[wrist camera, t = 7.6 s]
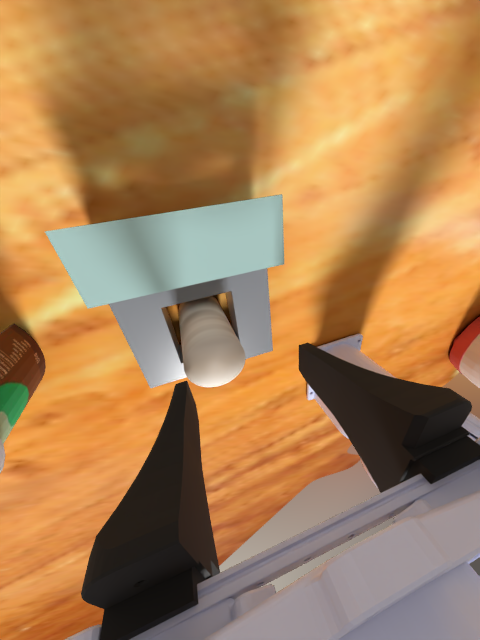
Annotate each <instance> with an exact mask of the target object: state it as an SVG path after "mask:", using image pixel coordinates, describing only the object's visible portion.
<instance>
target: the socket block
mask: <svg viewBox="0 0 480 640" xmlns="http://www.w3.org/2000/svg"><path fill="white" fill-rule="evenodd" d="M45 233H46V234H47V236H48V238H49V240H50V242H51V243H52V245H53V247H54V249H55V251H56V252H57V254H58V256H59V258H60V259H61V261H62V263H63V265H64V267H65V268H66V270H67V272H68V274H69V276H70V277H71V279H72V281H73V283H74V285H75V286H76V288H77V290H78V292H79V294H80V295H81V297H82V299H83V301H84V302H85V304H86V306H87V308H92V307H97V306H101V305H106V304H109V305H110V307H111V309H112V311H113V313H114V315H115V317H116V319H117V321H118V323H119V326H120V328H121V330H122V332H123V334H124V336H125V338H126V340H127V342H128V344H129V346H130V348H131V350H132V352H133V354H134V356H135V358H136V360H137V362H138V364H139V366H140V368H141V370H142V372H143V374H144V376H145V378H146V380H147V382H148V384H149V386H150V388H153V387H156V386H160V385H163V384H166V383H169V382H173V381H176V380H179V379H182V378H186V377H187V376H186V374H185V371H184V364H183V354H182V345H179V342H178V339H177V337H176V334H175V331H174V328H173V325H172V322H171V319H170V316H169V313H168V310H167V308H166V307H167V306H171V305H175V304H179V303H184V302H188V301H192V300H196V299H200V298H204V297H209V296H213V295H217V294H221V293H226V298H227V304H228V309H229V315H230V320H231V326H232V329H233V330H234V332H235V334H236V336H237V338H238V340H239V342H240V343H241V345H242V347H243V349H244V352H245V359H247V358H250V357H254V356H257V355H260V354H263V353H267V352H270V351H273V347H272V332H271V317H270V303H269V288H268V274H267V268H269V267H274V266H278V265H283V264H284V240H283V203H282V195H275V196H269V197H262V198H256V199H250V200H243V201H237V202H231V203H224V204H218V205H211V206H205V207H199V208H192V209H186V210H179V211H173V212H167V213H160V214H154V215H148V216H141V217H135V218H128V219H122V220H116V221H109V222H103V223H96V224H90V225H84V226H77V227H71V228H64V229H58V230H52V231H46V232H45Z"/></svg>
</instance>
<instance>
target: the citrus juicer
mask: <svg viewBox="0 0 480 640" xmlns="http://www.w3.org/2000/svg"><path fill="white" fill-rule="evenodd" d="M453 344H454V345H453V347H452V349H451V352H450V356H449V357H450V362H451V363H452V364H453V365H454V367H455V368H456V369H457V370H458V371H459V372H460V373H461V374H463V375H464V376H465V377H467V378H468V379H469V380H470V381H471V382H472V383H473V384H475V385H476V386H477V387H479V388H480V317H478V318H477V319H476V320H474V321H473V322H472V323H471V324H470V325H469V326H468V327H467V328H466V329H465V330H464V331H463V332H462V333H461V335H459V336H457V337H456V338H455V340H454V342H453Z"/></svg>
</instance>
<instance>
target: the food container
mask: <svg viewBox="0 0 480 640" xmlns="http://www.w3.org/2000/svg"><path fill="white" fill-rule="evenodd" d="M44 372H45V359H44V356H43V353H42V351H41V349H40V347H39V346H38V344H37V343H36V342H35V341H34V340H33V338H32V337H31V336H29V335H28V334H27V333H26V332H25V331H24V330H22V329H21V328H20V327H18V326H17V325H15V324H12V325H11V326H10V327H8V328H7V329H5V330H4V331H3V332H1V333H0V473H1V471H2V469H3V467H4V460H5V451H4V446H3V444H4V442H5V440H6V438H7V437H8V435H9V433H10V432H11V430H12V428H13V427H14V425H15V423H16V422H17V420H18V418H19V417H20V415H21V413H22V412H23V410H24V408H25V407H26V405H27V403H28V402H29V400H30V398H31V397H32V395H33V393H34V391H35V390H36V388H37V386H38V385H39V383H40V381H41V380H42V378H43V375H44Z"/></svg>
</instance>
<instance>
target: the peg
mask: <svg viewBox="0 0 480 640" xmlns="http://www.w3.org/2000/svg"><path fill="white" fill-rule="evenodd" d="M178 313H179V324H180V334H181V344H182V354H183V364H184V371H185V374H186V376H187V378H188V379H189V380H190V381H191V382H193V383H194V384H196V385H199V386H202V387H217V386H221V385H224V384H226V383H228V382H230V381H231V380H233V379H234V378H235V377H236V376H237V375H238V374H239V373H240V372H241V370H242V369H243V366H244V364H245V352H244V349H243V347H242V345H241V343H240V342H239V340H238V338H237V336H236V334H235V332H234V330H233V329H232V327H231V325H230V323H229V321H228V319H227V317H226V316H225V314H224V312H223V310H222V308H221V306H220V304H219V303H218V301H217V299H216V298H215V297H213V296H209V297H204V298H200V299H196V300H192V301H188V302H184V303H181V304H180V306H179V311H178Z"/></svg>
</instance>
